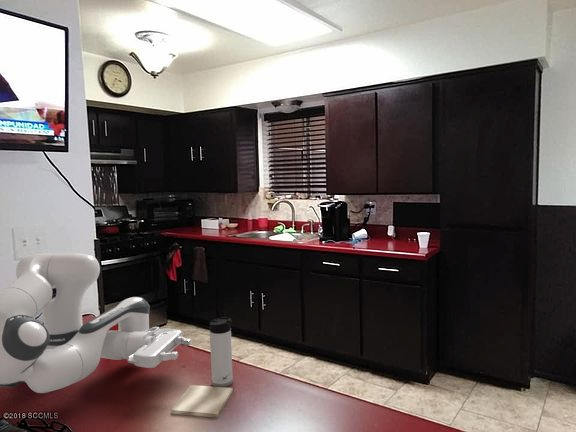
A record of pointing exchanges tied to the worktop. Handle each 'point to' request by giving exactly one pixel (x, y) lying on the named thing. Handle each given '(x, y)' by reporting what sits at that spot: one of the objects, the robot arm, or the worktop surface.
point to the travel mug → (221, 352)
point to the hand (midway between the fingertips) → (183, 348)
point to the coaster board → (202, 401)
